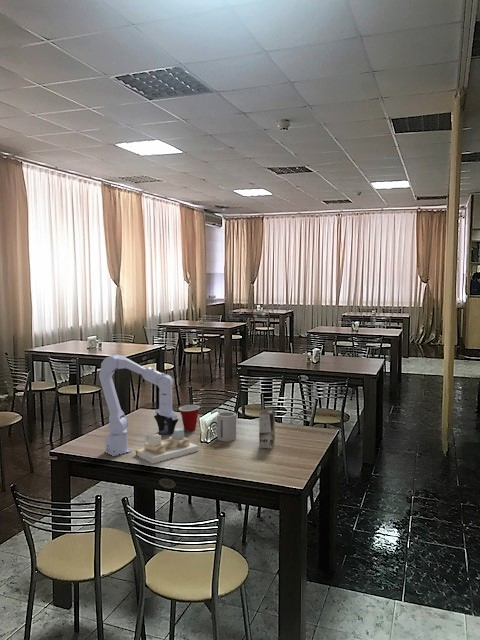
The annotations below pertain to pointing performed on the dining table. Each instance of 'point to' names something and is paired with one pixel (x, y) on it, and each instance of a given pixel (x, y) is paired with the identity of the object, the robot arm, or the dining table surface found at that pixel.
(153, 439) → the crate
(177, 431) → the block
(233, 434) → the cup
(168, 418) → the box
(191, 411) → the plastic cup
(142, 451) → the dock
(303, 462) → the dining table surface
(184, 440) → the pallet
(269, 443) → the coffee box
